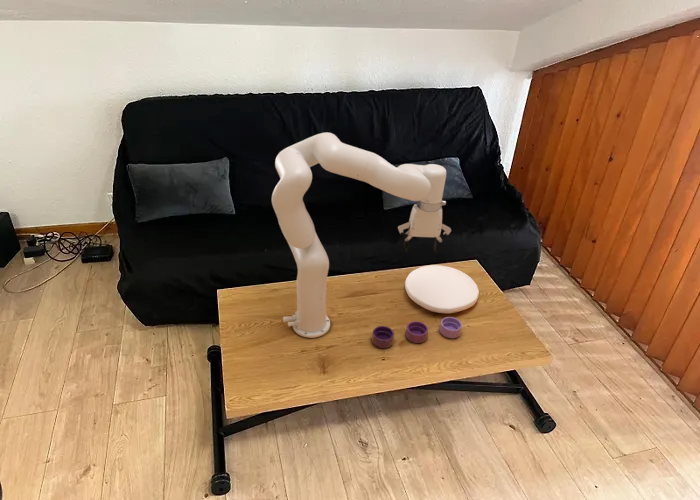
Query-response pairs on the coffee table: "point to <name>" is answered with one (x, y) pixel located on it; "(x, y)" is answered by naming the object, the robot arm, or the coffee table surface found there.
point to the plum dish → (416, 332)
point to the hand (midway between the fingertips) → (421, 249)
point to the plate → (441, 289)
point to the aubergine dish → (382, 336)
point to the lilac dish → (450, 327)
